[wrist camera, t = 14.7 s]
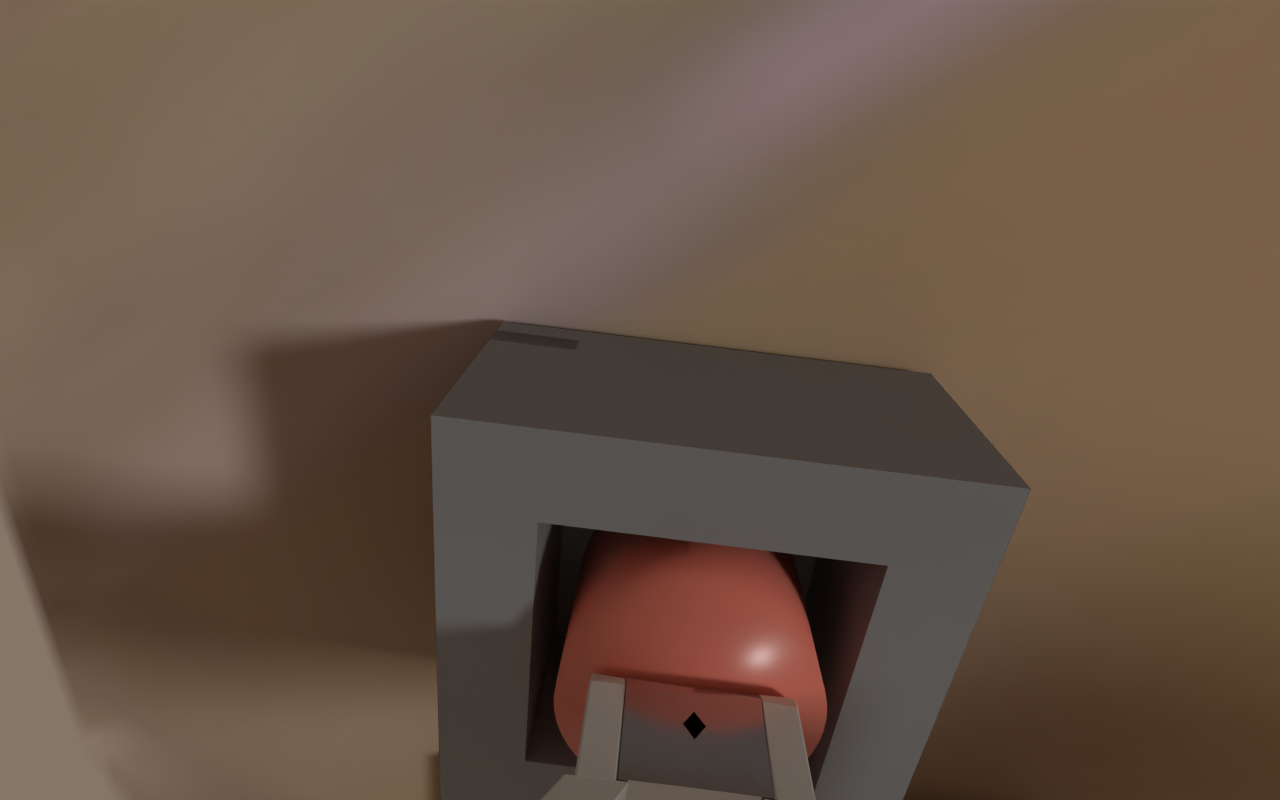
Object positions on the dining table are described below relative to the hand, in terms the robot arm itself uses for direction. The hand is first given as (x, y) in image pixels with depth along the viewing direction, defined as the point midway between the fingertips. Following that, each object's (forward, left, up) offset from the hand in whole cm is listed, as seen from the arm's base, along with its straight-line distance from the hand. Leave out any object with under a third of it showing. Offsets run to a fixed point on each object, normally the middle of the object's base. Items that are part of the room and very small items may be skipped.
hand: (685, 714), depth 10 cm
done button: (0, 0, -3) cm, 3 cm away
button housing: (0, 0, -5) cm, 5 cm away
